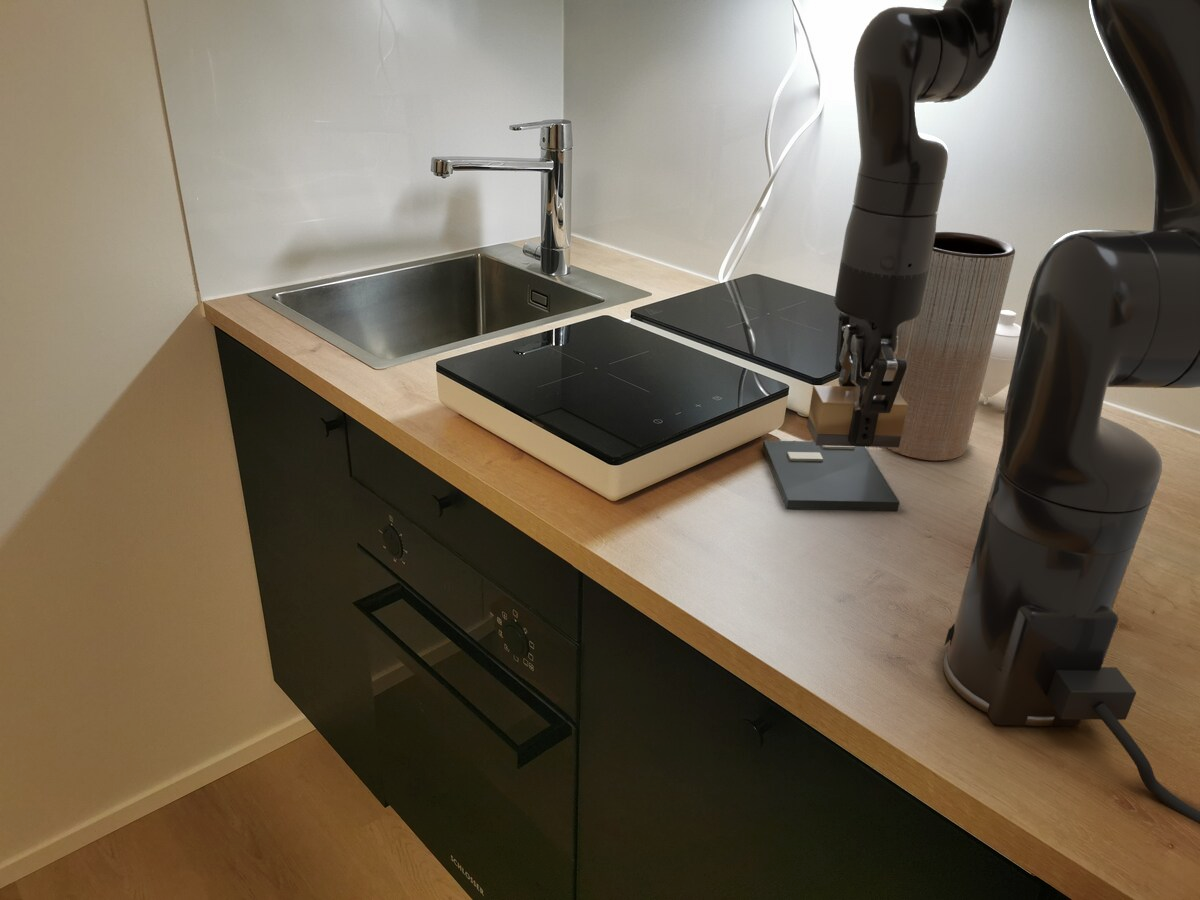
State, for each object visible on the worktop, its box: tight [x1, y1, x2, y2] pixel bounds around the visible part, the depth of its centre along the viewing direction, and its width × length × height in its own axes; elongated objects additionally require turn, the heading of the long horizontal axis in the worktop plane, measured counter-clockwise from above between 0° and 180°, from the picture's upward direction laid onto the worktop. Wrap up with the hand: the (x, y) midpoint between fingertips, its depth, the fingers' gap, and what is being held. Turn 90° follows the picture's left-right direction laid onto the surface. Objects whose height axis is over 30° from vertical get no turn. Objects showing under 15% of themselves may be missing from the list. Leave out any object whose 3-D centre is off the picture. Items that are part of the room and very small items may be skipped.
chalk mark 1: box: [822, 446, 855, 449], centre depth 99 cm, size 2×4×1 cm, turn 91°
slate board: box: [762, 440, 900, 512], centre depth 94 cm, size 13×11×1 cm
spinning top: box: [981, 309, 1021, 405], centre depth 110 cm, size 8×8×12 cm
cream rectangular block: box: [787, 452, 823, 461], centre depth 96 cm, size 2×4×1 cm, turn 92°
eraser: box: [806, 385, 908, 448], centre depth 87 cm, size 4×8×4 cm, turn 91°
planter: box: [886, 230, 1016, 462], centre depth 98 cm, size 10×10×23 cm
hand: (853, 432), depth 88 cm, fingers closed on eraser, 4 cm apart
